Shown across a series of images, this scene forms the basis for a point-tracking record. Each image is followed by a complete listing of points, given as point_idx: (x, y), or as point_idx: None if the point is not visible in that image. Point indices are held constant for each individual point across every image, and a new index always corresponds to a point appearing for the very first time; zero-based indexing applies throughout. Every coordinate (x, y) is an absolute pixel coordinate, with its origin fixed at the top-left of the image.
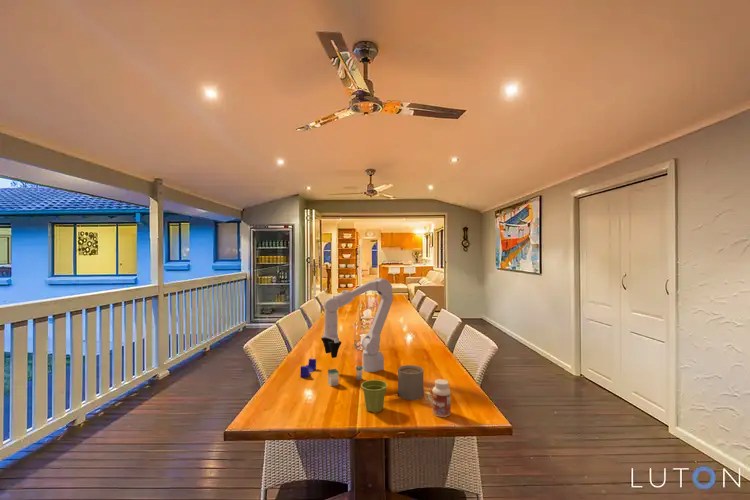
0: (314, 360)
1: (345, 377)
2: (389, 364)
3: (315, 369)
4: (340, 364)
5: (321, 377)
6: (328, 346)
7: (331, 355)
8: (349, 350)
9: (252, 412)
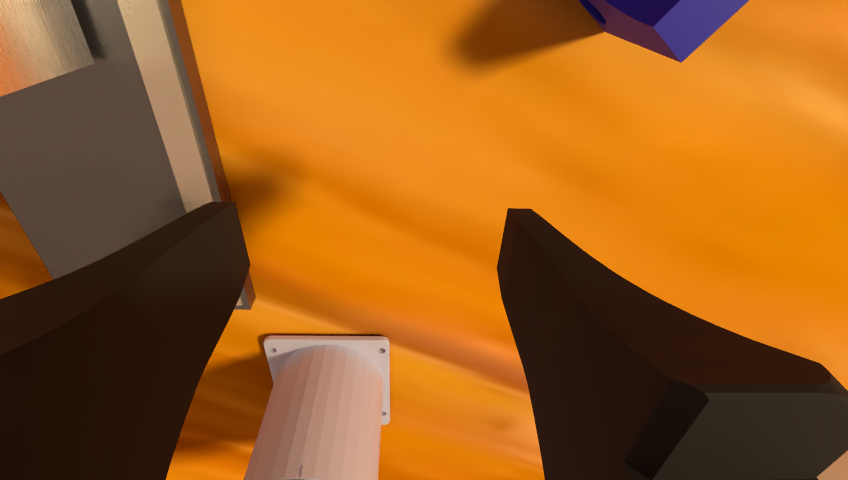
0: (657, 18)
1: (300, 214)
2: (408, 469)
3: (606, 22)
4: None
5: (398, 13)
6: (535, 323)
7: (197, 213)
8: None
9: None
